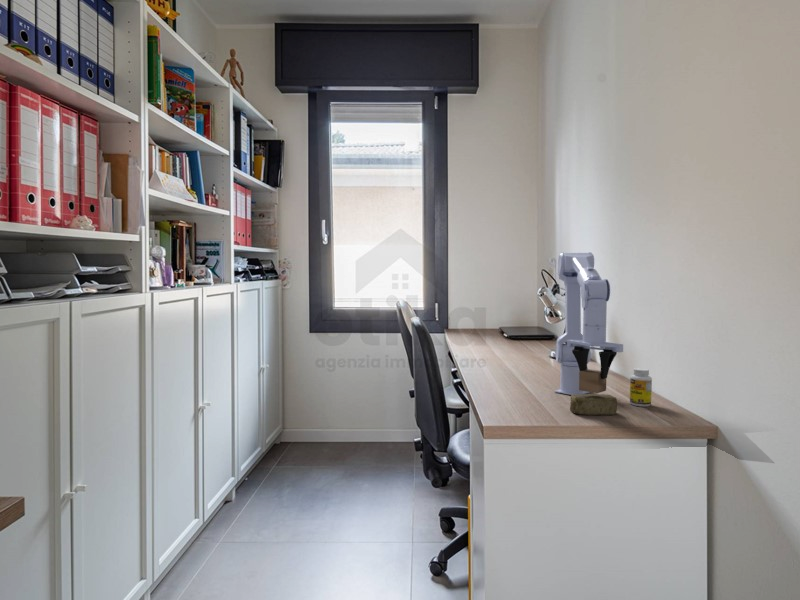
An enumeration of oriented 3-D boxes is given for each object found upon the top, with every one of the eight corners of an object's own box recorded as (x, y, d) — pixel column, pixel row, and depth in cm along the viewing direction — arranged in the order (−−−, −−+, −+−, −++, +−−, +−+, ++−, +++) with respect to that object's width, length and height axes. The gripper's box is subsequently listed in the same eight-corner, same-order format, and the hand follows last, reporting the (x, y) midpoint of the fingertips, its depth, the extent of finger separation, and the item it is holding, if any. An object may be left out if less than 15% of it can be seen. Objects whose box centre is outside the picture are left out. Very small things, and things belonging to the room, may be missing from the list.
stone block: (618, 416, 133) (619, 397, 133) (575, 416, 133) (575, 397, 133) (609, 410, 139) (609, 392, 139) (567, 411, 139) (567, 392, 139)
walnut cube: (588, 387, 138) (588, 369, 138) (606, 390, 134) (606, 371, 134) (579, 390, 135) (579, 371, 134) (597, 393, 131) (597, 373, 131)
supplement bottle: (625, 403, 147) (626, 368, 146) (639, 401, 149) (639, 367, 149) (641, 408, 142) (642, 371, 141) (655, 406, 144) (656, 370, 144)
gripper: (561, 324, 137) (560, 374, 137) (615, 328, 126) (613, 382, 127) (574, 323, 141) (573, 371, 142) (627, 326, 131) (626, 379, 131)
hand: (593, 376), depth 135 cm, fingers closed on walnut cube, 5 cm apart
